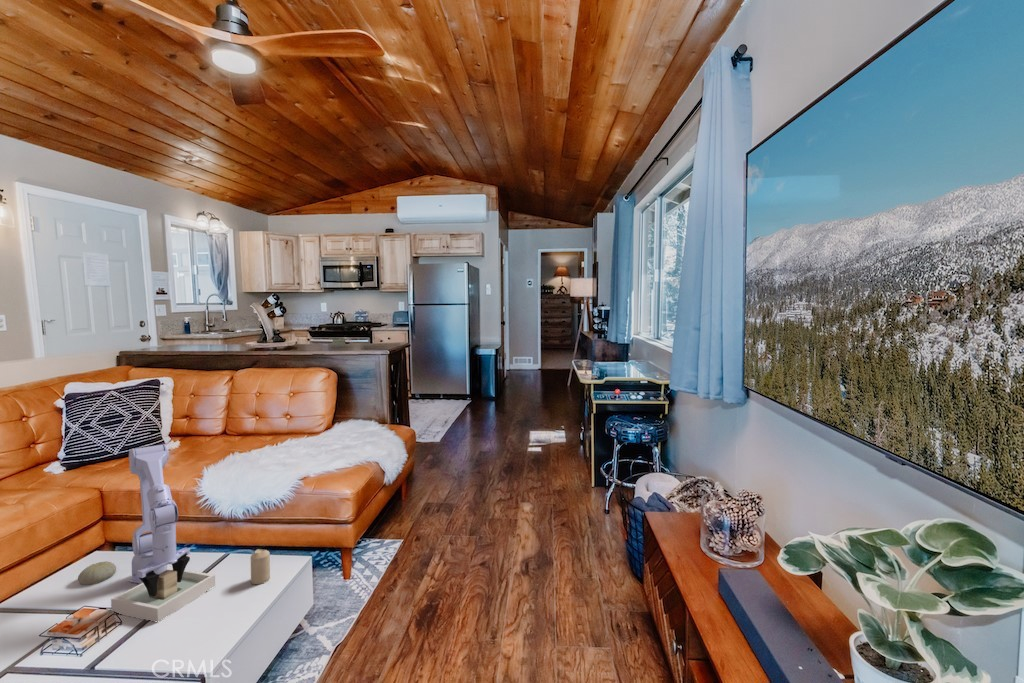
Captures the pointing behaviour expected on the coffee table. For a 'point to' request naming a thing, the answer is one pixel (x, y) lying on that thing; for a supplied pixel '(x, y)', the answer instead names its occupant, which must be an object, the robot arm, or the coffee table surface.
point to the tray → (153, 609)
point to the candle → (260, 566)
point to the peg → (166, 584)
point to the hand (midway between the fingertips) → (165, 588)
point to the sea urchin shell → (97, 573)
